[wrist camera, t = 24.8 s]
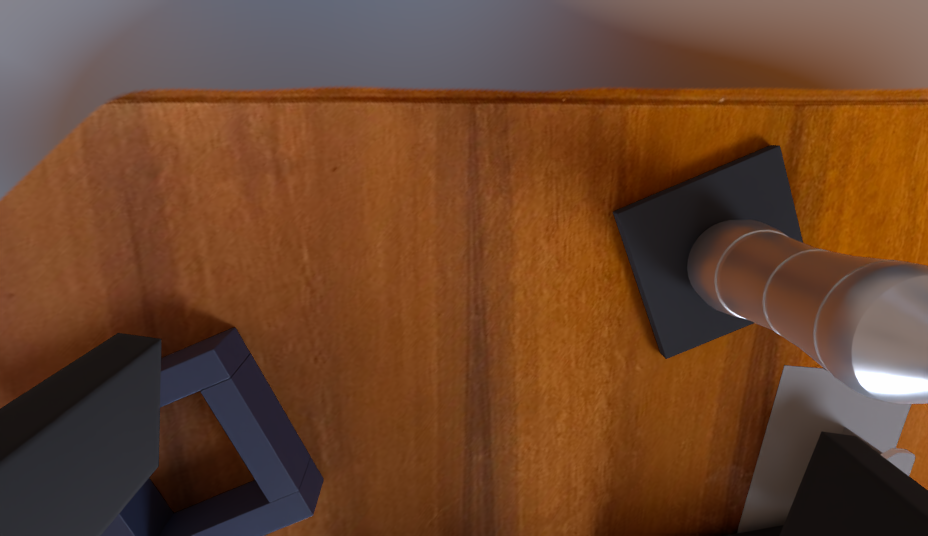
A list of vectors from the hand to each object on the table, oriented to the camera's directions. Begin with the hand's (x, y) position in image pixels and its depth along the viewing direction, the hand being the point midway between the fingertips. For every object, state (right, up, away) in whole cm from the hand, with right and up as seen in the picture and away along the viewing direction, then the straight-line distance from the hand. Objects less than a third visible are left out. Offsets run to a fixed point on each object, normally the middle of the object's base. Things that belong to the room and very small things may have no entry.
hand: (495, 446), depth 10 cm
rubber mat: (+18, +5, +28) cm, 33 cm away
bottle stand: (-21, -10, +29) cm, 37 cm away
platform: (+30, -13, +34) cm, 47 cm away
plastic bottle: (+18, +4, +27) cm, 33 cm away
